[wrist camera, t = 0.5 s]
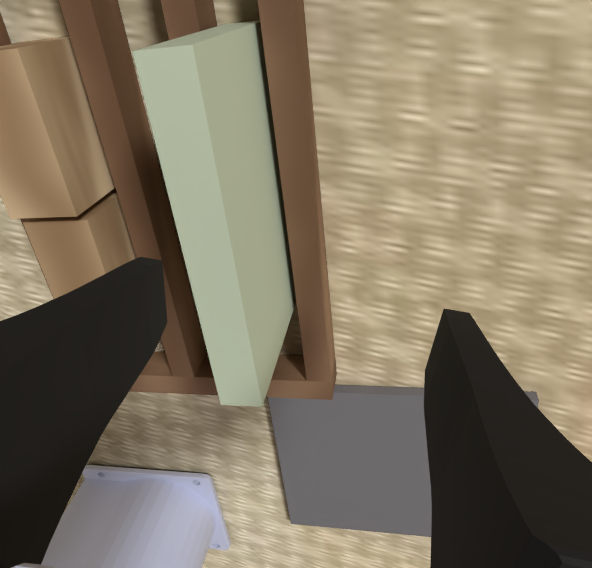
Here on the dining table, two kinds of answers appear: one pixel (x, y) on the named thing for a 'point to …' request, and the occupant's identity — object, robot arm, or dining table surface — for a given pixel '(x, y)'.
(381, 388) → the mat
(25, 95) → the offcut
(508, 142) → the dining table surface
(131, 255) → the offcut
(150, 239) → the rack
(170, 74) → the pale green rectangular block
